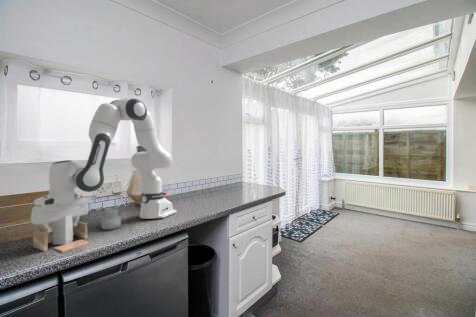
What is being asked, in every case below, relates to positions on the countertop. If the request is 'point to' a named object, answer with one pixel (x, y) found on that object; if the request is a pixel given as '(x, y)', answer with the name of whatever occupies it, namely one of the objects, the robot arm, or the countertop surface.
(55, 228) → the skincare box
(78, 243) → the tile
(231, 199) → the countertop surface
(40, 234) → the open wooden frame
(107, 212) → the air freshener
